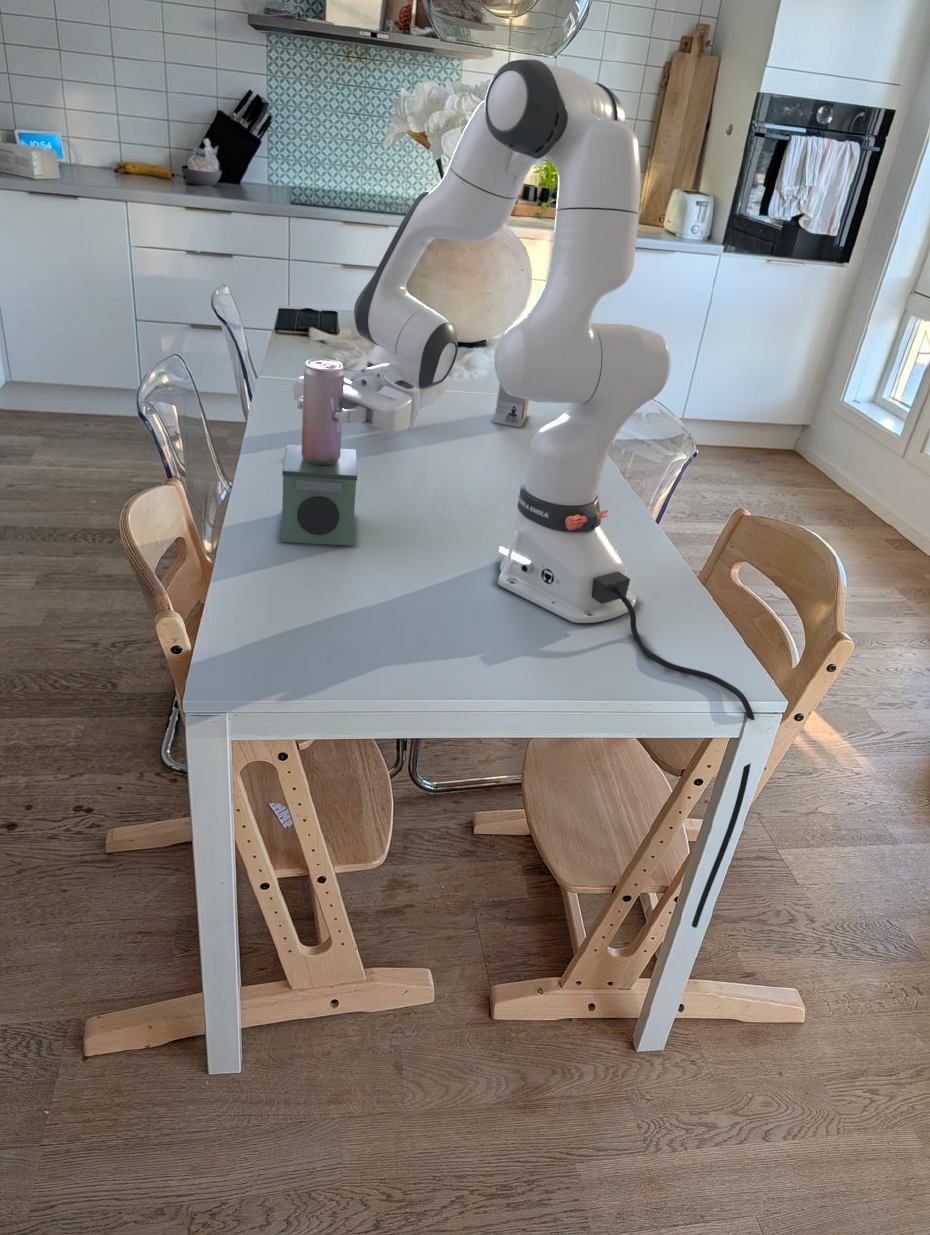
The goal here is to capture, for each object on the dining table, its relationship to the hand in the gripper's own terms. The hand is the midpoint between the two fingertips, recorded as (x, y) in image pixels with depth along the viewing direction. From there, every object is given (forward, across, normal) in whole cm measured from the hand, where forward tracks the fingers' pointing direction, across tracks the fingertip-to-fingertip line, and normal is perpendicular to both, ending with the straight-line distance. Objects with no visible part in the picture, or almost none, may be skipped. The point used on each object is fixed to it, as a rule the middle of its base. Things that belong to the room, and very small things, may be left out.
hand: (318, 411), depth 138 cm
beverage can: (-1, 0, +8) cm, 8 cm away
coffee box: (-76, -8, +20) cm, 79 cm away
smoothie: (-50, -25, +20) cm, 60 cm away
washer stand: (-1, 0, +20) cm, 20 cm away
